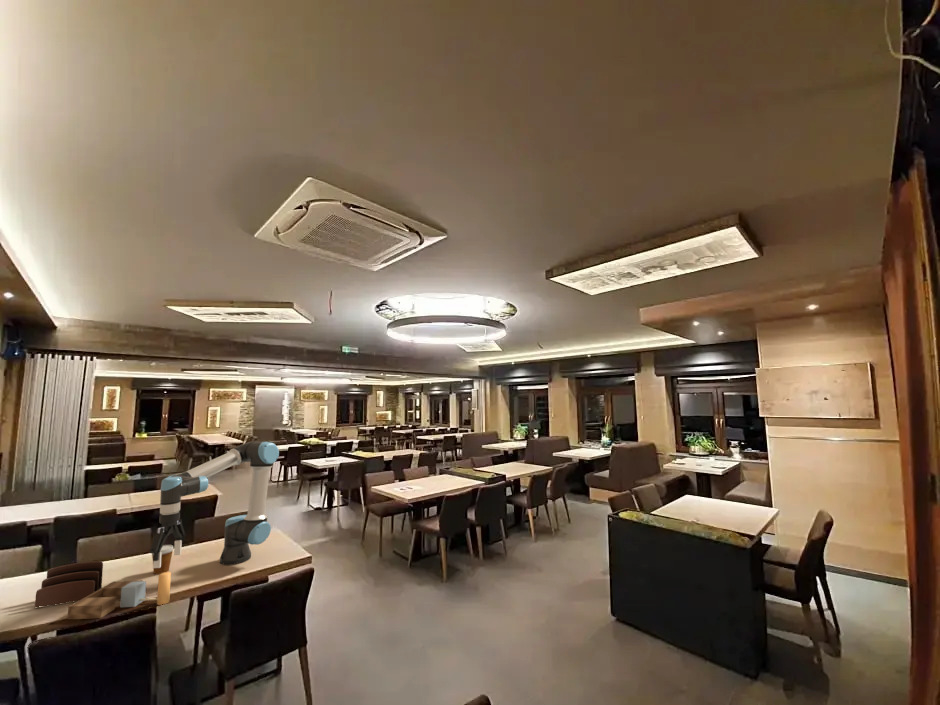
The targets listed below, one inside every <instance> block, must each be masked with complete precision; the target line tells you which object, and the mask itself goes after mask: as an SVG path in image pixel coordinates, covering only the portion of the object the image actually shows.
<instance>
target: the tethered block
mask: <svg viewBox="0 0 940 705" xmlns="http://www.w3.org/2000/svg"><path fill="white" fill-rule="evenodd" d="M171 578H172V572H171V571H168V572H164V573H161V574H158V580H157V581H158V583H157V597H152V598H150V597H149V598H146V588H147V581H146V580H143V581H141V580H136V581H137V582H131V583H129V584H127V585H126V586H124V587H122V589H121V600H120V606H119V607H120V608H135V607H137V606H138V605H140V604H141V603H143V602H145V601H156V605H158V606H162V604H163V605H166V604H168V603H169V602H170V593H171Z"/></svg>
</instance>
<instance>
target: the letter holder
mask: <svg viewBox="0 0 940 705" xmlns="http://www.w3.org/2000/svg"><path fill="white" fill-rule="evenodd" d="M103 569H104V563H103V561H99V560H98V561H97V560H96V561H92V560H91V561H80V562H76V563H75V562H74V563H70V564H64V565H60V566H56V567H52V568H49V569H48V570H47V571H46V578H44V579H43V580H42V581H41V587H40V588H39V589H37V591H36V592H35V601H34V608H35V607H39V606H47V605H53V606H56V605H55V604H58V605H61V604H60V603H64V604H67V603H66V602H69V603H73V601H75V602H78V601H79V600H81V599H83V598H85V597H87V596H88V595H90V594H92V593H94V592H95V591H97V590H99V589H101V588H103V587H102V585H103V571H104V570H103ZM47 607H48V606H47Z"/></svg>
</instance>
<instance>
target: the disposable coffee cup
mask: <svg viewBox="0 0 940 705" xmlns="http://www.w3.org/2000/svg"><path fill="white" fill-rule="evenodd" d="M160 552H162V554H161V567H160V568H153V567H152V569H153V574H154V575H159V574H161V573H164V572H170V566H171V561H172V555H173V553H174V545H172V544H163V546H162V548H161V551H160ZM150 554H151V558H152V559H153V558H154V557H153V556H154V554H153V553H150Z"/></svg>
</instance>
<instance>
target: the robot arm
mask: <svg viewBox="0 0 940 705" xmlns="http://www.w3.org/2000/svg"><path fill="white" fill-rule="evenodd" d="M279 456H280V450H279V447H278V446H277V445H276V443H274V442H269V441H254V440H252V441H248V442H245V443H242V444H240V445H237V446H236V447H234V448H232V449H230V450H228V452H227V453H225V454H222V455H220V456H218V457H215V458H213V459H210V460H208V461H206V462H204V463H202V464H200V465H198V466H196V467H192V468H190V469H189V470H186V471H184V472H182V473H179V474H173V475H169V476H167V477H165V478H163V479H162V480H161V484H160V503H159V519H158V522H159V524H160V525H161V527H157V528H156V529H155V534H154V537H153V541H152V543H151V547H150V550H149V554H151V553H153V554H154V556H153V557H154V558H152V569H153V568H160V567H161V554H162V552H160V551H161V548H162V546H163V545H165V542H166V540H167V538H168V537H169V536H170V535H171V534H172V536H173V538H174V539H175V540H174V545H173V548H174V549H173V556H181V555H182V545H183V544H182V543H183V540H185V537H186V532H185V529H184V526H183V519H182V518H181V504H182V503H181V500H182V497H186V496H189V495H194V494H200V493H203V492H206V491H207V489H208V487H209V480H208V478H209V477H211V476H214V475H215V474H218V473H220V472H222V471H224V470H226V469H228V468H230V467H233V466H235V465H236V466H239V465H242V464H243V463H250V465H249V467H250V468H251V470H252V472H251V481H250V482H251V483H250V490H249V499H248V507H247V514H242V515H241V514H240V515H237V516H232V517H229V518H228V519H226V521H225V523H224V524H225V525H224V542H223V543H224V546H223V549H222V552H221V555H220V557H219V564H220V565H223V566H231V565H233V566H234V565H238V564H242V563H245V562H247V561H249V560H250V559H251V557H252V550H251V548H250V546H249V545H260V544H263V543H264V542H265V541H266V540H267V539H268V538H269V536H270V534H271V532H272V526H271V524H270V523H269V522H268V515H267V514H266V507H267V506H266V505H267V498H268V497H267V496H268V488H269V479H270V471H271V468H273V467H274V463H275V462H276V461H277V460H278V459H279Z"/></svg>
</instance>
